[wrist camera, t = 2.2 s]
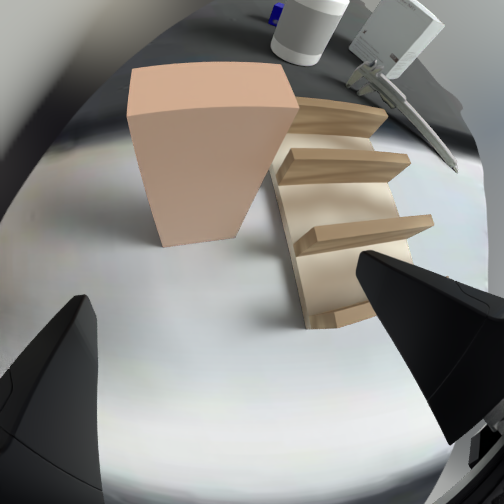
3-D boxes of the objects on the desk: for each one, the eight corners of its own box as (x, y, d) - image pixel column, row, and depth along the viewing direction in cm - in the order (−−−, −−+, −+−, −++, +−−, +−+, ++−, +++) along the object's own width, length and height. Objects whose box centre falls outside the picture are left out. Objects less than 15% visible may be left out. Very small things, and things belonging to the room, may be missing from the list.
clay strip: (235, 237, 22) (299, 108, 8) (163, 247, 20) (126, 116, 7) (229, 208, 22) (280, 64, 9) (160, 216, 21) (132, 69, 8)
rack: (413, 296, 24) (450, 287, 19) (306, 329, 21) (337, 328, 16) (361, 136, 28) (384, 109, 23) (259, 131, 25) (272, 95, 20)
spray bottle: (259, 44, 29) (298, -67, 12) (294, 37, 32) (336, -57, 15) (294, 71, 29) (350, -47, 12) (327, 63, 31) (383, -35, 14)
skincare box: (347, 49, 34) (386, -17, 20) (367, 48, 36) (405, -9, 22) (383, 83, 33) (434, 18, 19) (400, 80, 35) (447, 24, 21)
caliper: (343, 88, 30) (364, 55, 24) (345, 84, 31) (365, 52, 25) (456, 174, 31) (484, 154, 25) (455, 169, 32) (483, 149, 26)
